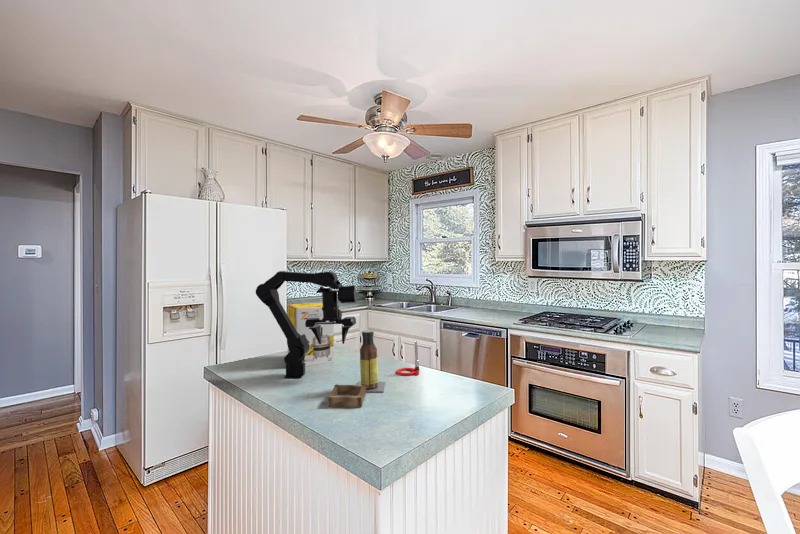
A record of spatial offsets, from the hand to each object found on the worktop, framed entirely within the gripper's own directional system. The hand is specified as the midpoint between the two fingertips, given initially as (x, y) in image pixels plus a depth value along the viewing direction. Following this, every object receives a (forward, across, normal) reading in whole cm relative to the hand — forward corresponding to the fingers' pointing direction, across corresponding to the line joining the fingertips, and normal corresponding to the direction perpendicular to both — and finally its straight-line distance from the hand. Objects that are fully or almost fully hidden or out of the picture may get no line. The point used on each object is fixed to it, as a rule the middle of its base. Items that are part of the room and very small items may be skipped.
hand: (331, 344), depth 144 cm
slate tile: (+14, -17, +10) cm, 24 cm away
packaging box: (+12, +17, -21) cm, 30 cm away
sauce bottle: (+13, -16, +11) cm, 24 cm away
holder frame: (+13, -12, +23) cm, 29 cm away
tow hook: (+14, -28, -9) cm, 33 cm away
